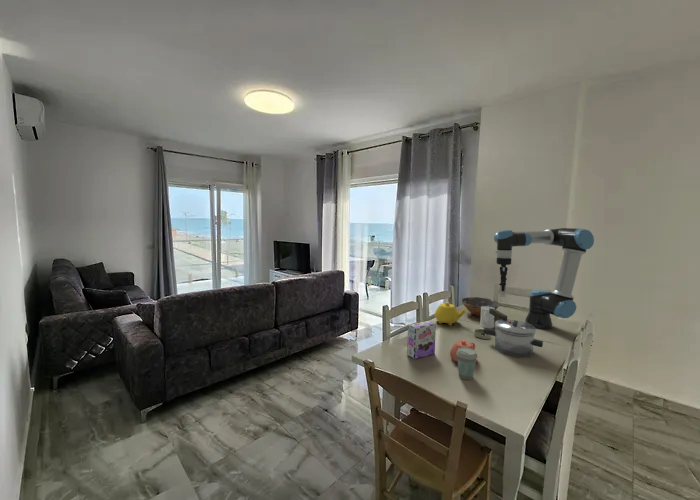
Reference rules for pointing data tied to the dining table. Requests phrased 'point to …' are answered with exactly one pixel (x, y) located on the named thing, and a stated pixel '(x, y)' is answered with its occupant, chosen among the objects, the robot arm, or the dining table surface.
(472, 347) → the sugar bowl
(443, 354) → the dining table surface
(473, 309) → the bowl
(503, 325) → the lid
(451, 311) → the teapot
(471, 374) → the coffee cup
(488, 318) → the mug
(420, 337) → the candy box
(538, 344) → the pot
